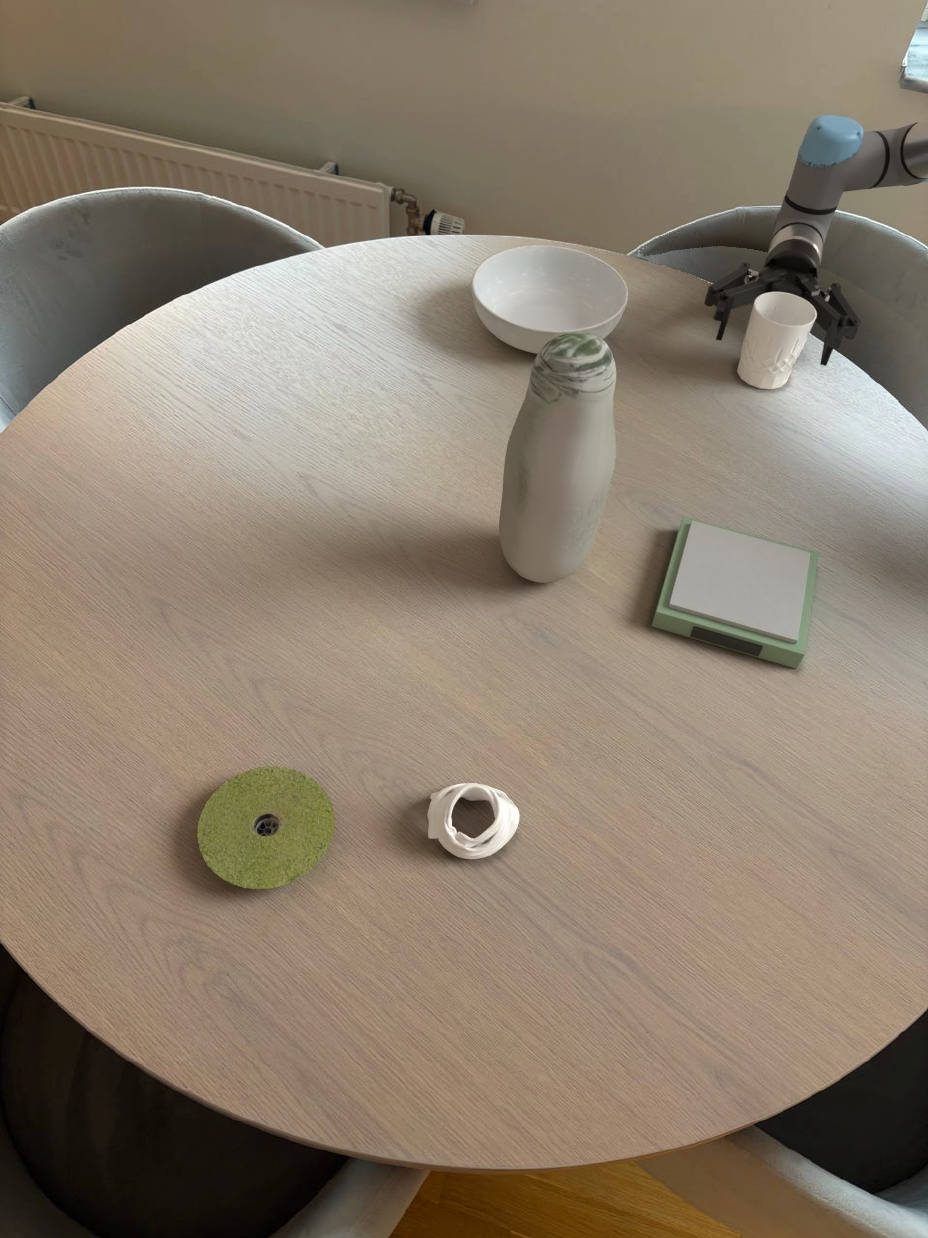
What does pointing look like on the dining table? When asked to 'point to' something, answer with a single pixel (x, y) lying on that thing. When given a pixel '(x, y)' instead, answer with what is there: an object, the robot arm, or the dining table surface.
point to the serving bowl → (547, 295)
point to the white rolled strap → (460, 842)
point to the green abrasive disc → (265, 827)
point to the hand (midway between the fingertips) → (773, 343)
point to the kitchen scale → (738, 592)
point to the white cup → (774, 338)
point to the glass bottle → (559, 459)
